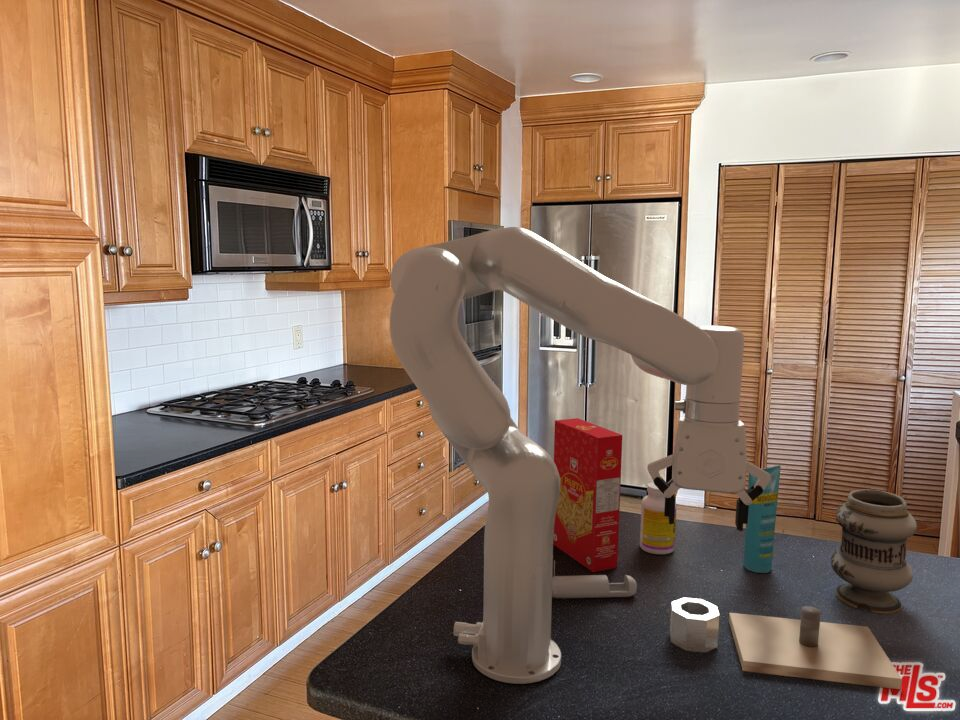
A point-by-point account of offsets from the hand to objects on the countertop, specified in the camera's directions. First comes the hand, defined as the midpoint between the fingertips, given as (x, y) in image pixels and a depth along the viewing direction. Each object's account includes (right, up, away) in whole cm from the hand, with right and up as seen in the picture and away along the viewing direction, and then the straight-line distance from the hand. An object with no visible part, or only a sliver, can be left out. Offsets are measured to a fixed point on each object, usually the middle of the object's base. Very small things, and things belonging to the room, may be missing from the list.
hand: (704, 524), depth 107 cm
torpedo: (-16, -16, +15) cm, 27 cm away
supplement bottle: (+1, -13, +35) cm, 37 cm away
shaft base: (+14, -18, -2) cm, 23 cm away
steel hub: (-1, -17, +1) cm, 18 cm away
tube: (+18, -14, +26) cm, 35 cm away
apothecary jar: (+32, -16, +14) cm, 39 cm away
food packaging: (-13, -13, +32) cm, 37 cm away
